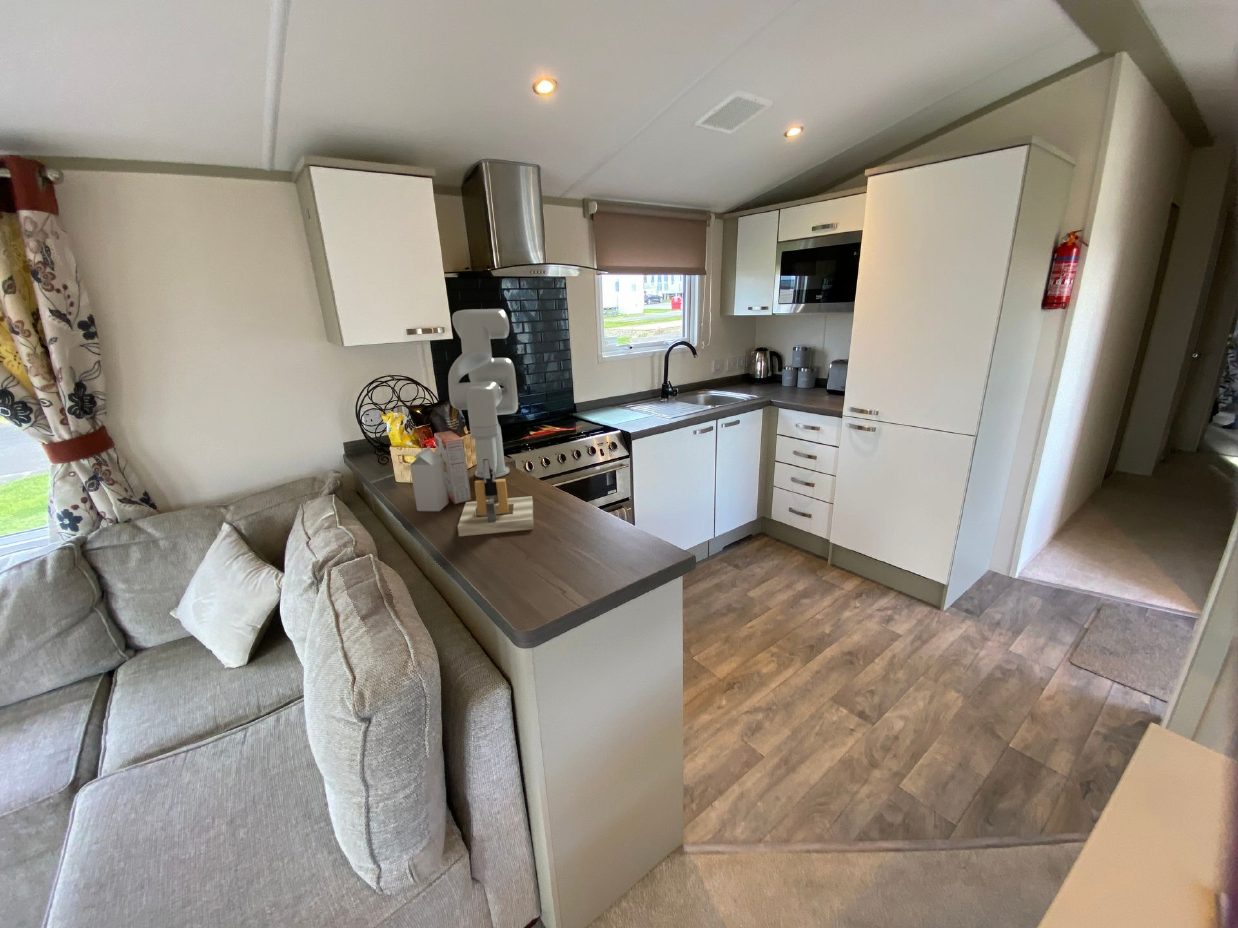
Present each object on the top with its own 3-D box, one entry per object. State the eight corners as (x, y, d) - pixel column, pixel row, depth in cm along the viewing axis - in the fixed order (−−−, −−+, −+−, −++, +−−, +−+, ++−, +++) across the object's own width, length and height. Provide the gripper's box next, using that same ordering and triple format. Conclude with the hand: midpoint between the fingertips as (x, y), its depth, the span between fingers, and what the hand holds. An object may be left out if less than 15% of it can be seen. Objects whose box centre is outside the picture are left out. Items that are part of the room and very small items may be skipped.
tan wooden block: (479, 511, 144) (475, 480, 141) (508, 508, 145) (505, 478, 142) (478, 514, 142) (474, 483, 139) (508, 511, 143) (504, 481, 140)
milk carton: (449, 503, 158) (440, 446, 153) (439, 511, 152) (430, 452, 146) (427, 503, 159) (418, 446, 153) (417, 511, 152) (407, 452, 147)
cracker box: (442, 492, 168) (433, 432, 162) (460, 488, 171) (451, 430, 165) (453, 505, 157) (444, 441, 150) (472, 500, 160) (463, 438, 153)
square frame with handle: (467, 511, 151) (463, 485, 149) (533, 505, 154) (530, 479, 152) (459, 536, 134) (454, 507, 132) (533, 529, 137) (530, 500, 135)
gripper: (473, 425, 143) (481, 485, 149) (467, 439, 128) (475, 505, 134) (500, 424, 144) (506, 483, 150) (496, 437, 129) (503, 502, 135)
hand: (491, 493), depth 142 cm, fingers closed on tan wooden block, 2 cm apart
